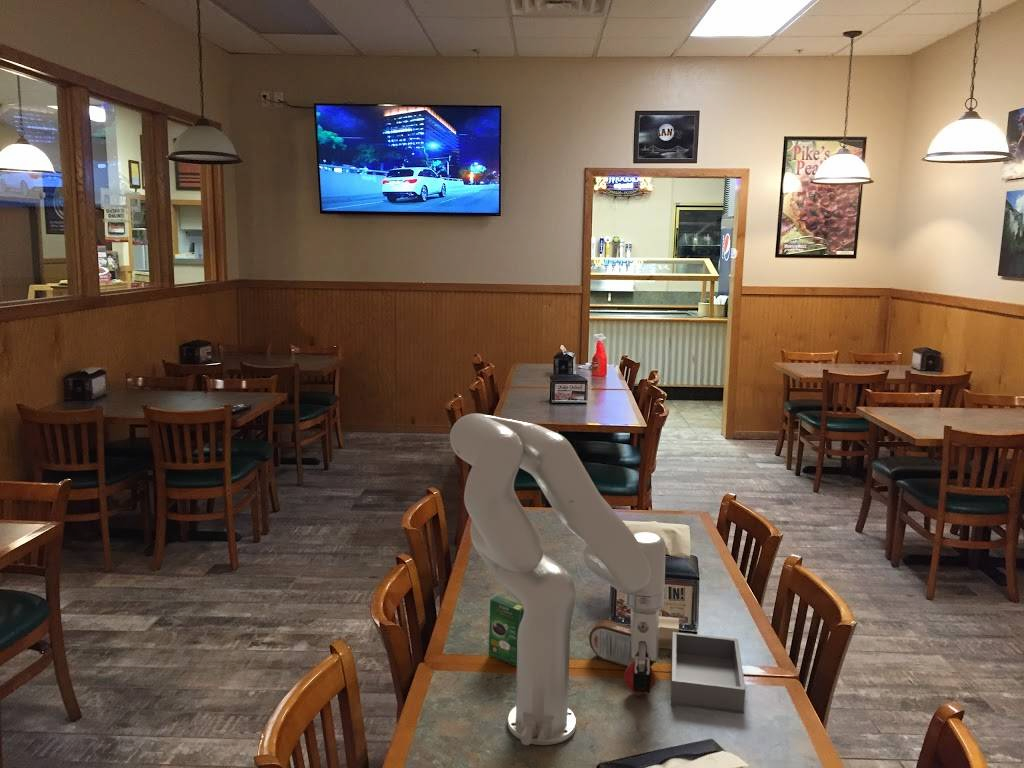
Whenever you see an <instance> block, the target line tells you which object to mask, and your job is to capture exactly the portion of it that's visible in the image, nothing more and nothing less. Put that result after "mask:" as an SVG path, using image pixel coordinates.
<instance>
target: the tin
mask: <svg viewBox="0 0 1024 768" xmlns="http://www.w3.org/2000/svg"><path fill="white" fill-rule="evenodd" d="M588 642H589V645H590V648H591V650H592V652H593V653H594V654H595V655H596V656H597V658H600V659H601V660H604V661H606V662H609V661H610V662H609V663H612V662H613V663H612V664H616V665H619V666H622V667H625V668H627V667H628V665H629V664H631V663H632V662H633V661H635V659H633V657H632V648H631V625H630V626H628V625H625V624H622V623H619V622H615V621H611V620H608V619H606V620H605V619H604V620H600V621H598V622H597V623H596V624H595V625H594V626H593V628H592V629H591V630H590V632H589V636H588ZM659 650H660V649H659V648H658V657H659V655H660V651H659ZM657 660H658V659H657ZM657 660H656V661H652V665H650V667H651V668H652V666H653V665H654V664H655V663H656V662H657Z"/></svg>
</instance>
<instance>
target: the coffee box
mask: <svg viewBox="0 0 1024 768" xmlns="http://www.w3.org/2000/svg"><path fill="white" fill-rule="evenodd" d="M489 601H490V602H489V627H488V630H489V631H488V634H489V635H488V656H489V657H492V658H494V659H497V660H499V661H502V662H504V663H506V662H507V663H506V664H509V665H511V666H514V667H516V668H517V635H518V628H519V625H520V622H521V620H522V618H523V615H524V609H523V606H522V605H521V604H520V603H519V602H516V601H513V600H510V599H507V598H505V597H502V596H499V595H496V596H494V597H492V598H491V599H490V600H489Z"/></svg>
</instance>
